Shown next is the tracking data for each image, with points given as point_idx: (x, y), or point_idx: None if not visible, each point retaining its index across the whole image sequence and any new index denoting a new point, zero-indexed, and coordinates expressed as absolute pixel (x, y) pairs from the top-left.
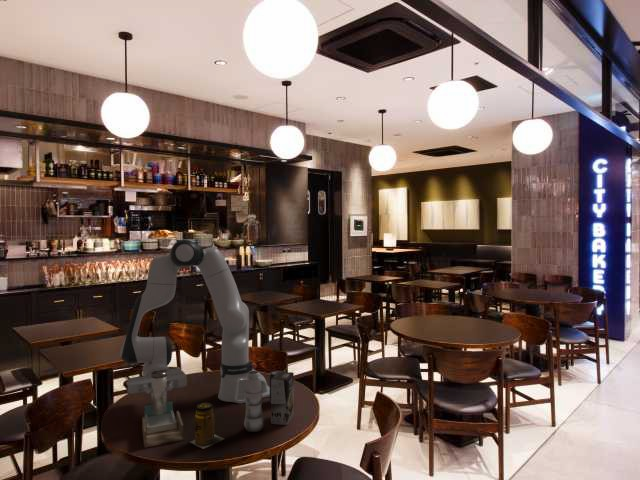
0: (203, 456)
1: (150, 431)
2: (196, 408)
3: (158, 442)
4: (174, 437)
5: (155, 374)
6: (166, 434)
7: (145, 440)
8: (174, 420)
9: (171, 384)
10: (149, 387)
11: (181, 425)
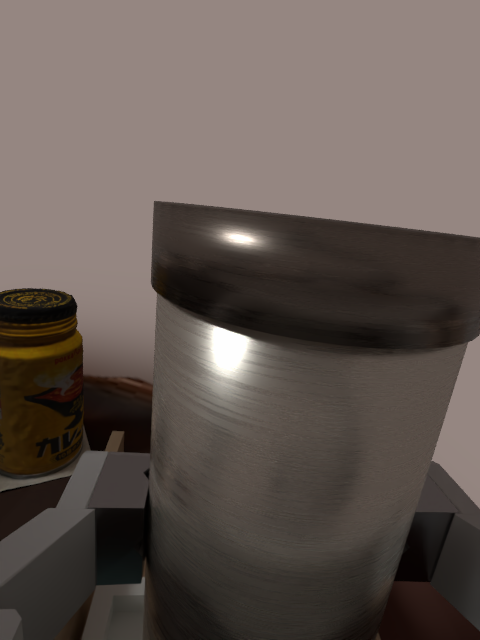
0: (101, 391)
1: None
2: (74, 306)
3: None
4: None
5: (355, 222)
6: None
7: None
8: (96, 632)
9: (23, 541)
10: (433, 495)
11: (122, 433)
